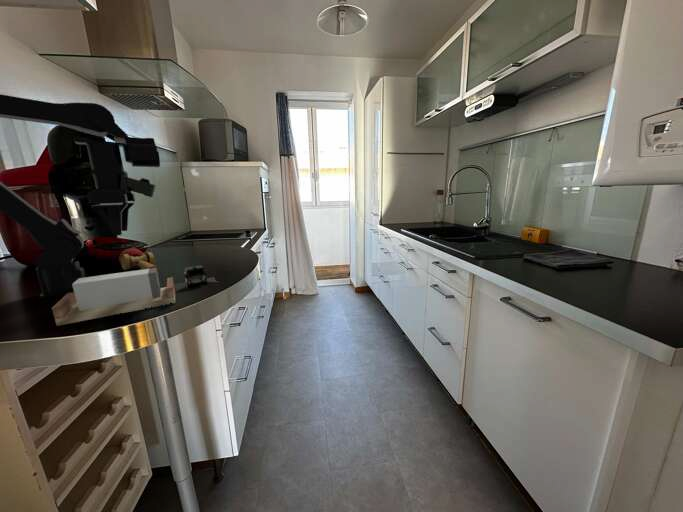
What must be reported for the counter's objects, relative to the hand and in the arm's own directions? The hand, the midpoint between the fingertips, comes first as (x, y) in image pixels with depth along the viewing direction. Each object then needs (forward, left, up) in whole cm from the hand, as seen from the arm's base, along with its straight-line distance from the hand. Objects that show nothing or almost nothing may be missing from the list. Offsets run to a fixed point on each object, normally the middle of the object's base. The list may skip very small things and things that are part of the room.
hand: (121, 232), depth 67 cm
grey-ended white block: (+1, -20, -11) cm, 23 cm away
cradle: (+1, -20, -12) cm, 24 cm away
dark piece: (+14, -13, -13) cm, 23 cm away
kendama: (+2, +8, -12) cm, 15 cm away
